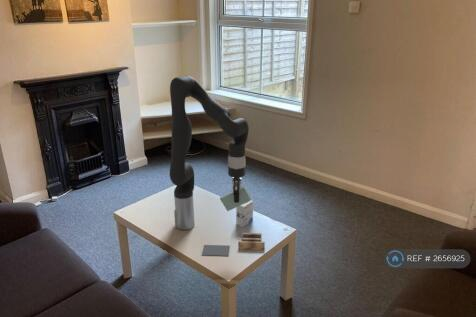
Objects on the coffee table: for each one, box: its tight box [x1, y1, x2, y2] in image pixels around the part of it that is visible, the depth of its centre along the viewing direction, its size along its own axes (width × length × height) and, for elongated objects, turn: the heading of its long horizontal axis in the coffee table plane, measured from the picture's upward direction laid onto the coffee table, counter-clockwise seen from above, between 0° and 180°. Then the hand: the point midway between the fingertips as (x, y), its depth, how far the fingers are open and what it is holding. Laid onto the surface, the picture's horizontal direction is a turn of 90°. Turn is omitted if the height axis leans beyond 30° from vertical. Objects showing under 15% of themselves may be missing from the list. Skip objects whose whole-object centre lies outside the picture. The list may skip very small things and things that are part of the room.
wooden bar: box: [237, 240, 266, 251], centre depth 174 cm, size 12×2×4 cm, turn 87°
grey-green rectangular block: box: [219, 184, 252, 212], centre depth 170 cm, size 7×2×12 cm
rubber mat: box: [201, 244, 231, 257], centre depth 173 cm, size 12×8×1 cm, turn 87°
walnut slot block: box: [241, 232, 262, 242], centre depth 180 cm, size 9×6×2 cm, turn 87°
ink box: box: [235, 199, 254, 228], centre depth 195 cm, size 9×5×12 cm, turn 143°
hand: (236, 200), depth 170 cm, fingers closed on grey-green rectangular block, 2 cm apart
